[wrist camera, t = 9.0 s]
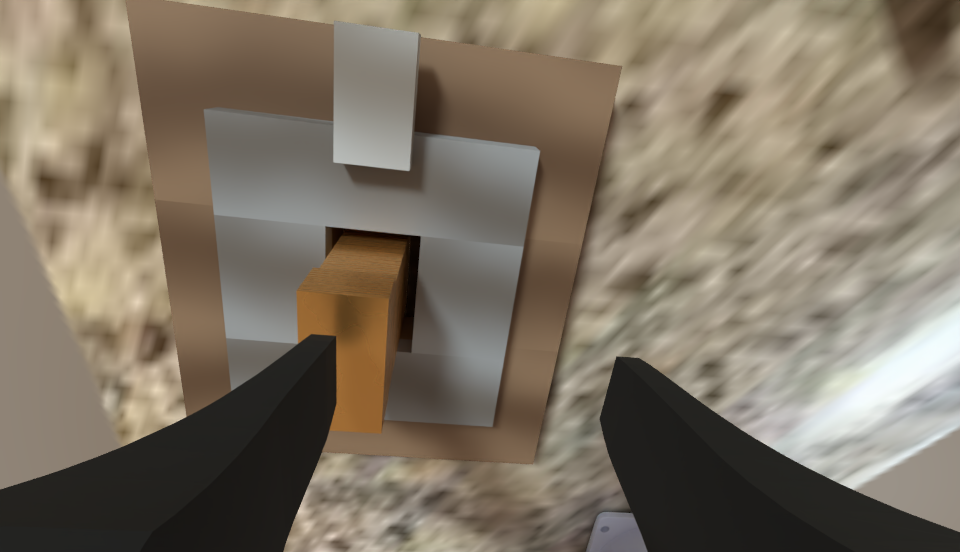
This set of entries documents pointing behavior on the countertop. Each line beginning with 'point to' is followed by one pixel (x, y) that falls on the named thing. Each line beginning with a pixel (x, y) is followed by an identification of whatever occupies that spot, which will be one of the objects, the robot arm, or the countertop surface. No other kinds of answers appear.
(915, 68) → the countertop surface
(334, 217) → the brown grey stepped board
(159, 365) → the countertop surface
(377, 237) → the notched wooden block
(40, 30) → the countertop surface
